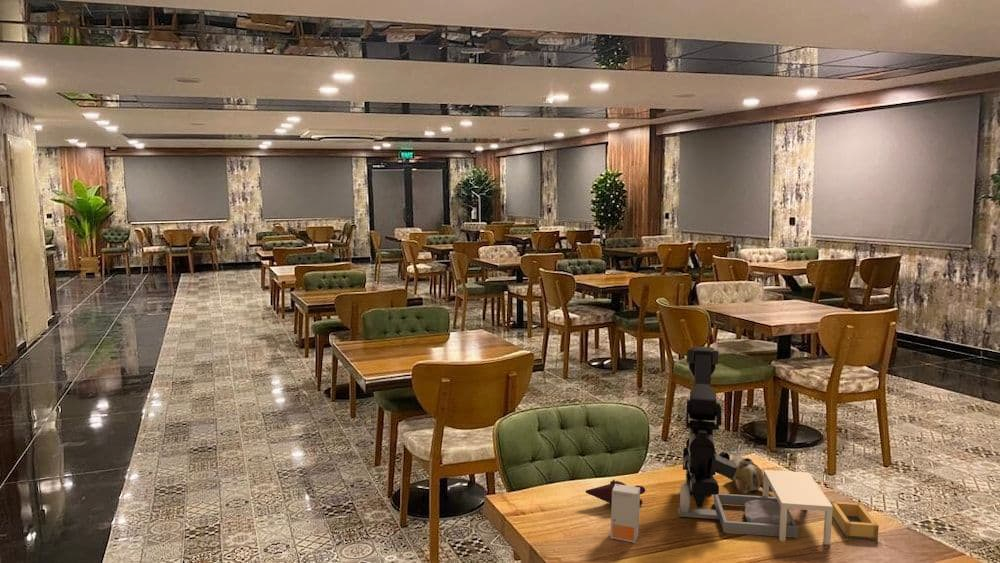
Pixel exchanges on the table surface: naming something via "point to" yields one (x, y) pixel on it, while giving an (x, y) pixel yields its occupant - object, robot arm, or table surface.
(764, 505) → the stone block
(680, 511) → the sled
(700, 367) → the robot arm
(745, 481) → the ceramic sculpture
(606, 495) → the icecream
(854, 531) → the tan wooden open box
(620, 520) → the skincare box
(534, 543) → the table surface
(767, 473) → the white miniature table
